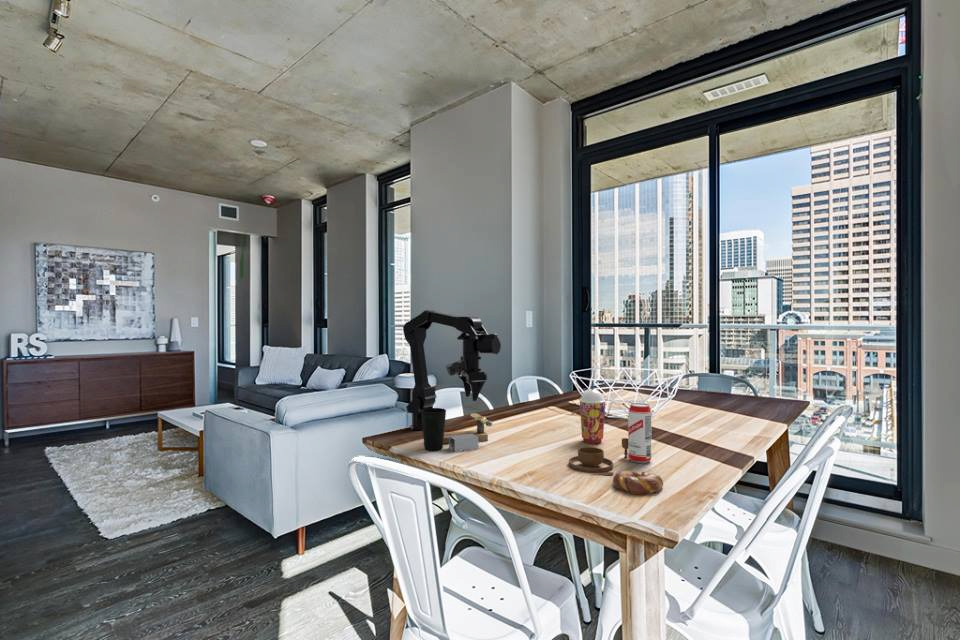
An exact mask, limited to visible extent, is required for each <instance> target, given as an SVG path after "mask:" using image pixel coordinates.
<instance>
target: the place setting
mask: <svg viewBox="0 0 960 640" xmlns="http://www.w3.org/2000/svg"><path fill="white" fill-rule="evenodd" d="M621 448H623V449H624V453H623V455H624V457H623V458H624V459H629V457H628V437H625V438H624V437H623V438H621ZM604 455H605V452H604V450H603V449H602V448H599V447H595V446H593V447H592V446H584V447H579V448H578V449H577V455H575V456H572V457H570V458H569V459H568V464H569V466H570V467H571V468H573V469H574V470H577V471H579V472H580V471H581V472H584V473H585V472H586V473H595V474H591V476H606V477H607V476H612V475H614V472H613V471H612V472H609V471H610V470H612V469H613V467H614V462H613V461H612V460H611V459H609V458H607V457H604ZM576 462H580V463H581V464H582V465H583V466H581V465H577V464H575V463H576ZM602 464H605V465H607V466H605V467H599V466H600V465H602Z"/></svg>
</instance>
